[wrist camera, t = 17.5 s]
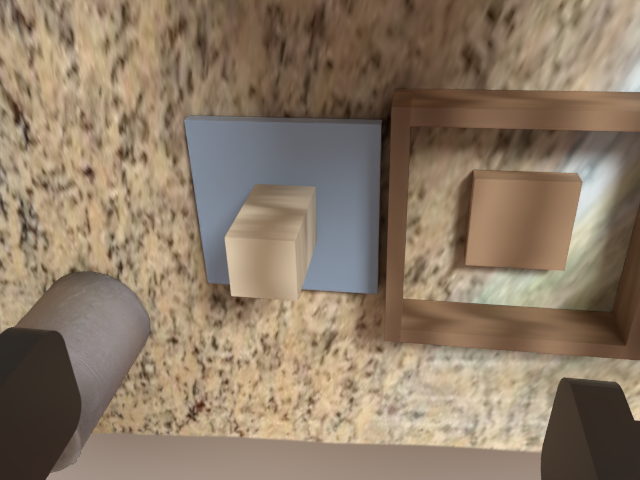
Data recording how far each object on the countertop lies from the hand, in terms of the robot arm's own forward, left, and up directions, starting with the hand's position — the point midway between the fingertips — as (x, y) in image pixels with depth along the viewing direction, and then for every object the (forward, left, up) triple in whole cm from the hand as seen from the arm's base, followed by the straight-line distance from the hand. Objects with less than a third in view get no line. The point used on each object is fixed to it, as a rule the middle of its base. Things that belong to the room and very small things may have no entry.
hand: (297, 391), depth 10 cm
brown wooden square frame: (+9, -14, -34) cm, 37 cm away
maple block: (-8, -14, -33) cm, 36 cm away
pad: (-8, -14, -34) cm, 37 cm away
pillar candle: (-26, -26, -34) cm, 50 cm away
